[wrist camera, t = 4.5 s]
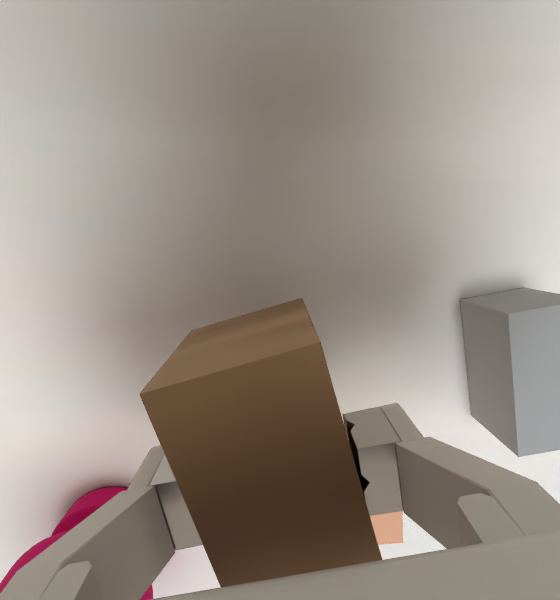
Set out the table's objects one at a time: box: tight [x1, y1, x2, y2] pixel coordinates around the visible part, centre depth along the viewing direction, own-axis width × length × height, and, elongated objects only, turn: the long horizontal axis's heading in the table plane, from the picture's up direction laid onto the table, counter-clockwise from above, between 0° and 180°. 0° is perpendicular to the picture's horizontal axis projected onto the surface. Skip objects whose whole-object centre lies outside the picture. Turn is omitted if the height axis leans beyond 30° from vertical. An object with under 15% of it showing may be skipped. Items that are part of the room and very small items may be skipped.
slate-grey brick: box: [460, 288, 560, 457], centre depth 17 cm, size 7×4×4 cm, turn 11°
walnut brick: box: [140, 298, 382, 587], centre depth 9 cm, size 7×4×4 cm, turn 17°
